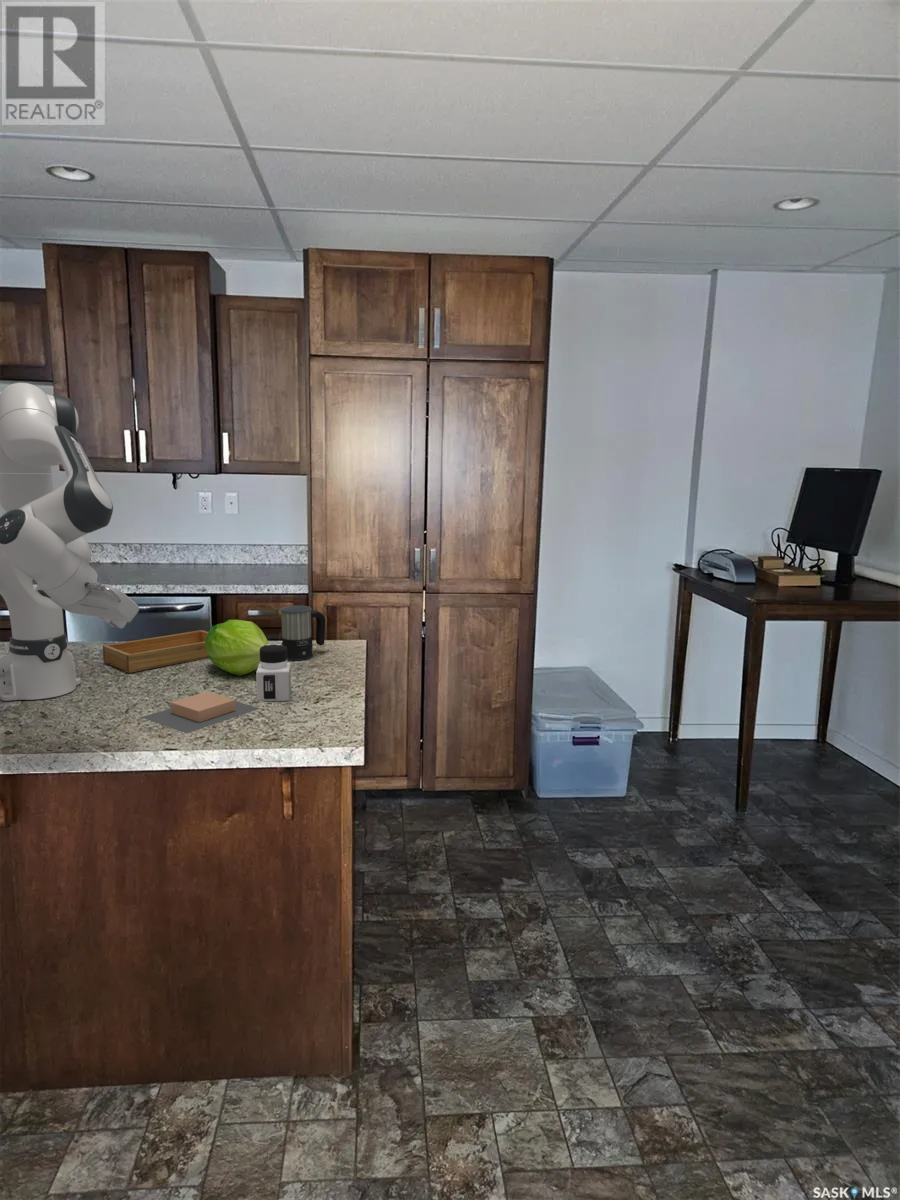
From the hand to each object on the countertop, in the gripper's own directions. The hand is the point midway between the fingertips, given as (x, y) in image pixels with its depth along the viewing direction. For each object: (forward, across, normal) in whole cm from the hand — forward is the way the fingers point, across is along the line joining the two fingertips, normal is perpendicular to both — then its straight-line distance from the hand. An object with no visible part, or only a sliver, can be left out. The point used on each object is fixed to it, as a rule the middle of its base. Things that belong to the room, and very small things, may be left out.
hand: (120, 625), depth 148 cm
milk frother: (+66, +19, -35) cm, 77 cm away
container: (+43, -5, -10) cm, 44 cm away
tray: (+48, +44, -17) cm, 67 cm away
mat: (+30, -1, +3) cm, 30 cm away
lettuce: (+50, +18, -18) cm, 56 cm away
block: (+25, -1, +5) cm, 26 cm away
